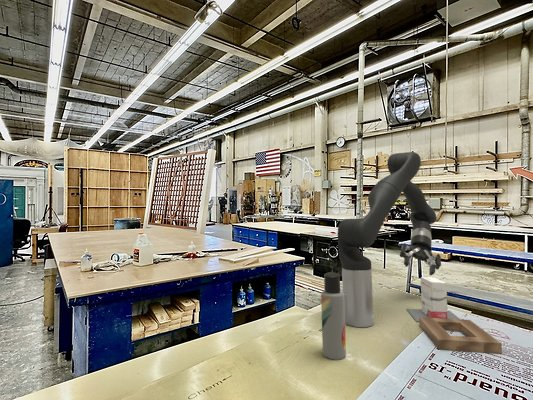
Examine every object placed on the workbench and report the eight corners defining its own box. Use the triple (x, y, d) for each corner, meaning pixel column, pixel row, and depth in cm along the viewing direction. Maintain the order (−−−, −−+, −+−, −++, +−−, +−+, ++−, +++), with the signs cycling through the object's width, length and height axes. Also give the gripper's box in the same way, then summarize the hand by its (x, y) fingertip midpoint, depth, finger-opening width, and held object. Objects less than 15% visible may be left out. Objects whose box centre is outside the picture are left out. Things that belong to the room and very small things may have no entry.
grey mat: (416, 322, 92) (416, 320, 92) (406, 309, 103) (406, 308, 103) (465, 324, 89) (465, 323, 89) (449, 311, 100) (449, 310, 100)
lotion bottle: (347, 350, 73) (344, 271, 74) (345, 361, 68) (342, 276, 69) (324, 347, 75) (322, 270, 76) (321, 358, 70) (318, 274, 71)
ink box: (449, 320, 91) (447, 282, 92) (432, 319, 92) (430, 282, 93) (436, 311, 100) (434, 276, 101) (420, 310, 101) (419, 276, 101)
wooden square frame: (438, 349, 73) (438, 339, 73) (419, 325, 89) (418, 317, 89) (502, 353, 70) (501, 343, 70) (470, 328, 86) (469, 319, 86)
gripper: (406, 229, 119) (402, 256, 107) (443, 240, 115) (444, 270, 103) (400, 241, 124) (396, 268, 112) (436, 253, 119) (435, 282, 108)
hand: (419, 269), depth 108 cm, fingers open, 8 cm apart
